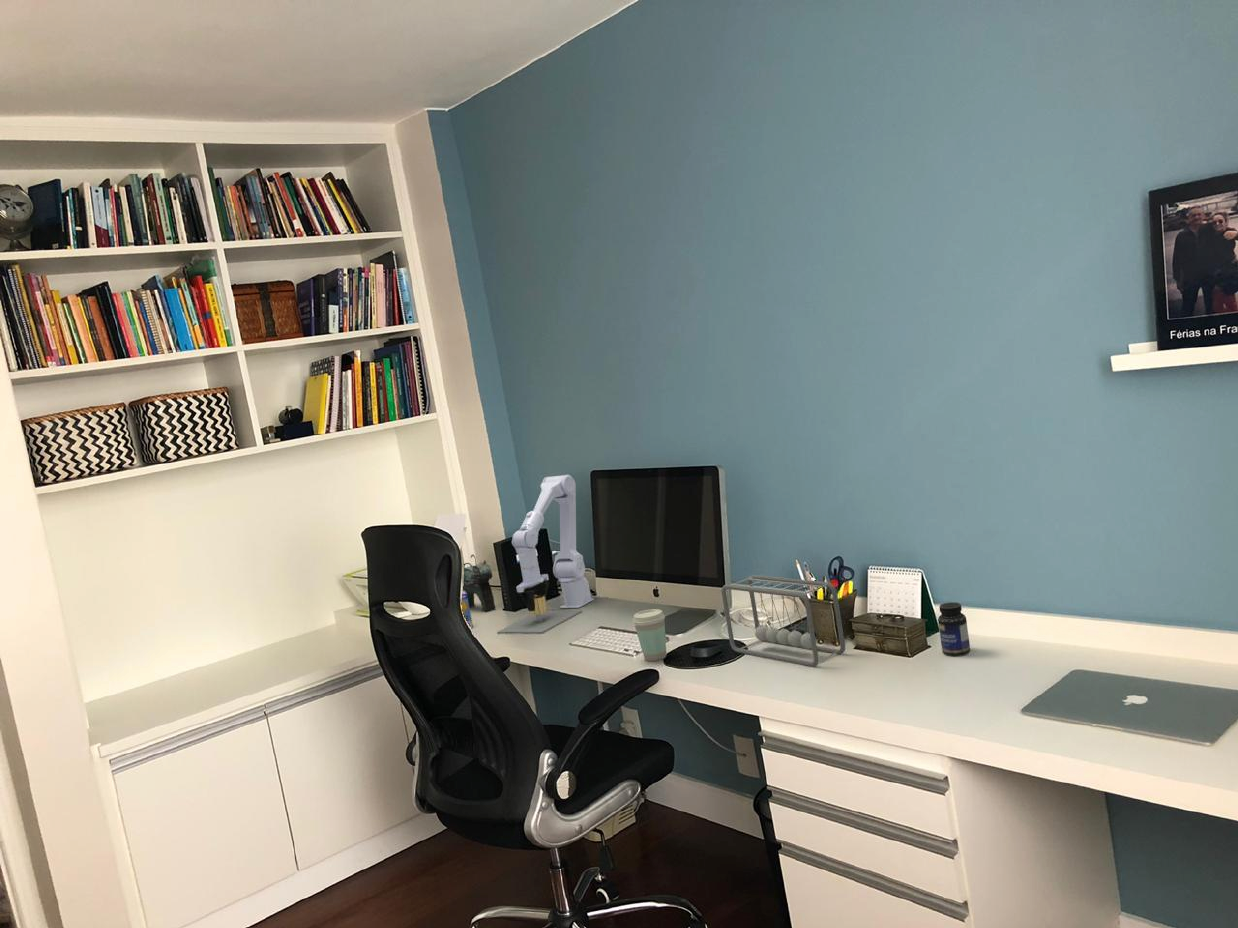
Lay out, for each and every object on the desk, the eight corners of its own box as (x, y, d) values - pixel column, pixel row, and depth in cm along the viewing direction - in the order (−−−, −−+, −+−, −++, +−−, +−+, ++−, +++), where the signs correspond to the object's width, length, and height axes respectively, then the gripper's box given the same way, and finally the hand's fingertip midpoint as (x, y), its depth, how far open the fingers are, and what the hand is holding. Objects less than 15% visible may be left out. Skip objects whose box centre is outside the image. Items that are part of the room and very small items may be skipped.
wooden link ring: (536, 609, 323) (534, 594, 323) (550, 609, 320) (547, 594, 320) (526, 614, 318) (523, 599, 318) (540, 614, 315) (537, 599, 315)
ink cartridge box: (444, 635, 325) (436, 592, 324) (442, 631, 331) (434, 589, 329) (474, 628, 328) (466, 585, 327) (471, 624, 333) (463, 582, 332)
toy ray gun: (500, 609, 349) (490, 553, 347) (484, 614, 346) (473, 558, 344) (474, 603, 365) (463, 551, 363) (458, 608, 362) (448, 555, 360)
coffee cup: (676, 651, 263) (668, 607, 262) (664, 662, 255) (656, 617, 254) (647, 652, 266) (639, 609, 265) (634, 663, 259) (626, 618, 258)
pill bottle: (937, 654, 225) (930, 607, 224) (951, 646, 229) (945, 600, 228) (961, 658, 220) (954, 610, 219) (976, 649, 224) (969, 602, 223)
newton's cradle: (847, 654, 236) (836, 582, 235) (817, 668, 230) (805, 594, 229) (759, 639, 261) (748, 573, 259) (730, 651, 255) (719, 584, 253)
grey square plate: (538, 612, 334) (534, 595, 333) (581, 611, 324) (578, 594, 323) (497, 633, 315) (493, 615, 315) (542, 633, 306) (538, 614, 305)
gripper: (526, 572, 310) (534, 614, 311) (552, 560, 322) (560, 601, 323) (508, 573, 313) (516, 614, 315) (535, 561, 325) (543, 601, 327)
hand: (537, 607), depth 319 cm, fingers closed on wooden link ring, 6 cm apart
